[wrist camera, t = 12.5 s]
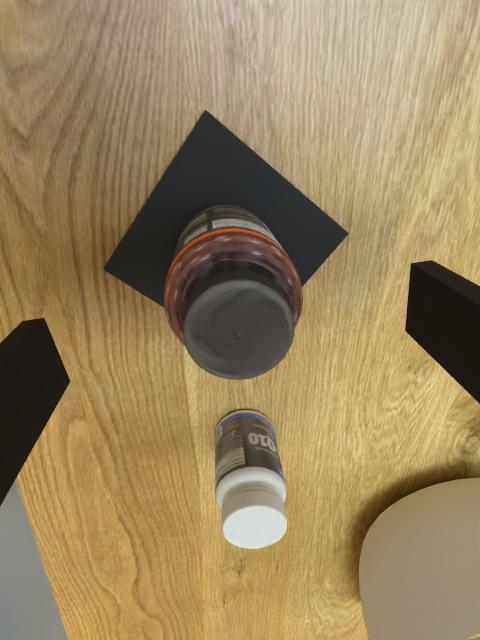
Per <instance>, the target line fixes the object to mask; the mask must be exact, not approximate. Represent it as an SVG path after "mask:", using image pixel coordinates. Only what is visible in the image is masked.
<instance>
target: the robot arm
mask: <svg viewBox="0 0 480 640" xmlns="http://www.w3.org/2000/svg"><path fill="white" fill-rule="evenodd" d="M405 331H406V332H407V333H408V334H409V335H410V336H411V337H412V338H413V339H414V340H415V341H416V342H417V343H418V344H419V345H420V346H421V347H422V348H423V349H424V350H425V351H426V352H427V353H428V354H429V355H430V356H431V357H432V358H434V359H435V360H436V361H437V362H438V363H439V364H440V365H441V366H442V367H443V368H444V369H445V370H446V371H447V372H448V373H449V374H450V375H451V376H452V377H453V378H454V379H455V380H456V381H457V382H458V383H459V384H460V385H461V386H462V387H463V388H464V389H465V390H466V391H467V392H468V393H469V394H470V395H471V396H472V397H473V398H474V399H475V400H476V401H477V402H478V403H480V286H478V285H476V284H475V283H473V282H471V281H469V280H467V279H465V278H464V277H462V276H460V275H458V274H456V273H454V272H453V271H451V270H449V269H447V268H445V267H443V266H442V265H440V264H438V263H436V262H434V261H432V260H431V261H424V262H417V263H411V270H410V281H409V293H408V304H407V316H406V328H405ZM69 383H70V379H69V377H68V374H67V372H66V370H65V367H64V365H63V362H62V360H61V357H60V355H59V352H58V350H57V348H56V345H55V343H54V340H53V338H52V335H51V333H50V331H49V328H48V326H47V323H46V321H45V318H40V319H33V320H27V321H22V322H21V323H20V324H19V325H18V326H17V327H16V328H15V329H14V330H13V331H12V332H11V333H10V334H9V335H8V336H7V337H6V338H5V339H4V340H3V341H2V342H1V343H0V505H1V504H2V502H3V500H4V499H5V497H6V495H7V493H8V491H9V490H10V488H11V486H12V484H13V483H14V481H15V479H16V477H17V475H18V474H19V472H20V470H21V468H22V467H23V465H24V463H25V461H26V459H27V458H28V456H29V454H30V452H31V451H32V449H33V447H34V445H35V443H36V442H37V440H38V438H39V436H40V435H41V433H42V431H43V429H44V427H45V426H46V424H47V422H48V420H49V419H50V417H51V415H52V413H53V411H54V410H55V408H56V406H57V404H58V402H59V401H60V399H61V397H62V395H63V394H64V392H65V390H66V388H67V386H68V385H69Z"/></svg>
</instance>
